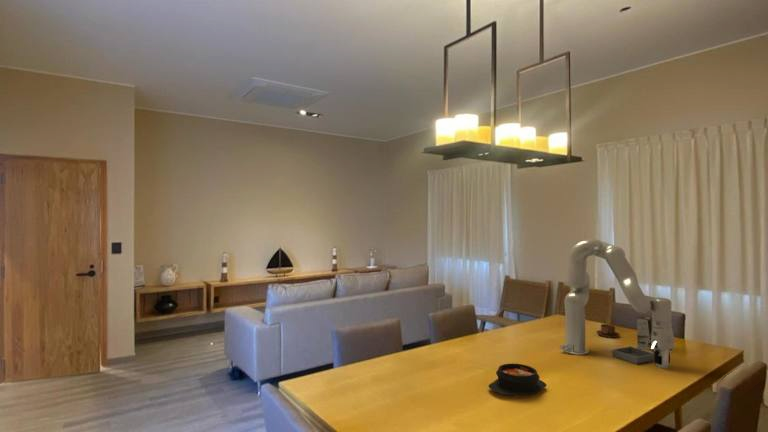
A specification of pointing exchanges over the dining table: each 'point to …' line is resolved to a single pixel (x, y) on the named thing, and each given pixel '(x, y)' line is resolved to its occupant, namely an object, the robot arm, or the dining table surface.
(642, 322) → the coffee box
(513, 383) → the casserole
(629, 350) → the bin
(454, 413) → the dining table surface
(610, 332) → the cup and saucer
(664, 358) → the canister
